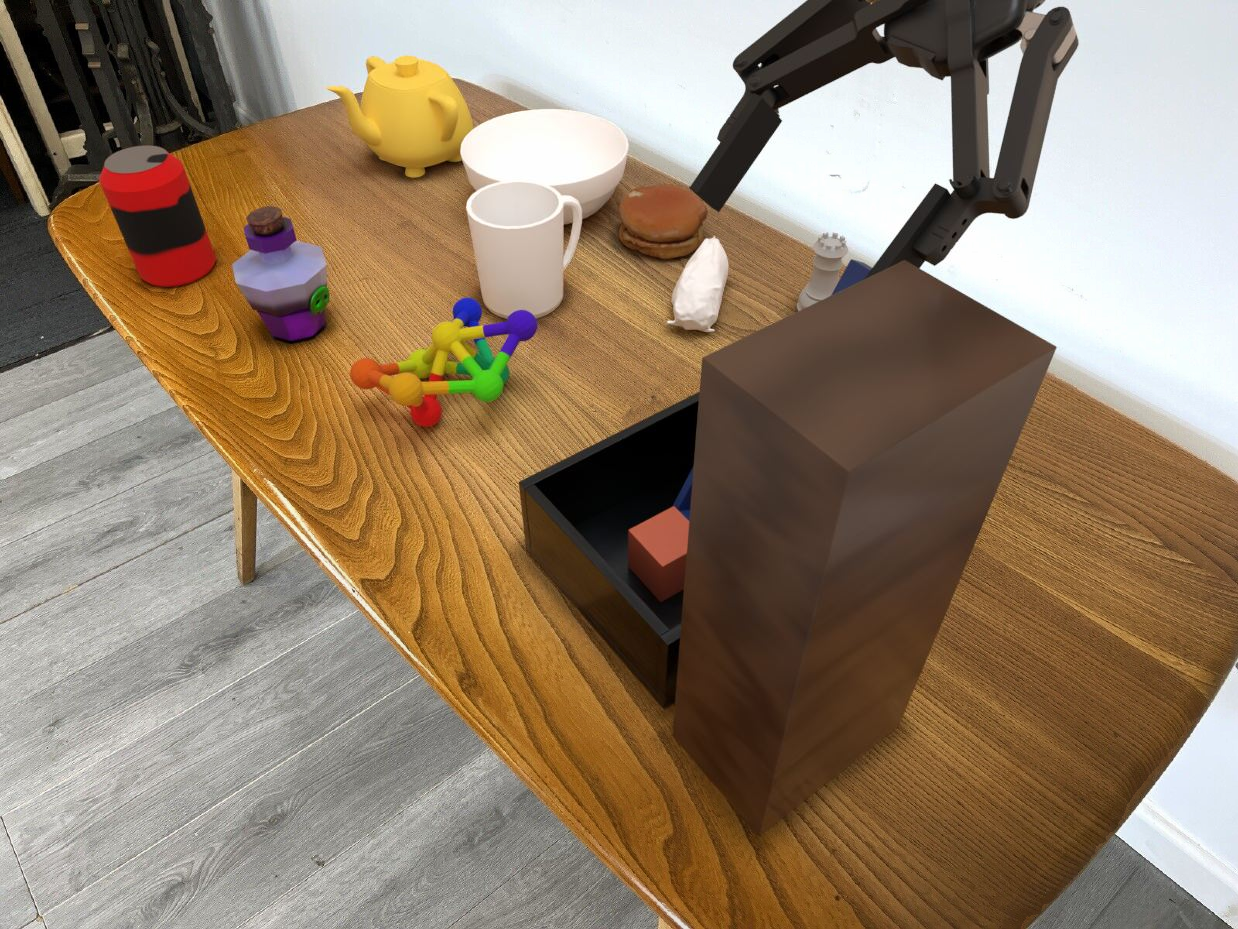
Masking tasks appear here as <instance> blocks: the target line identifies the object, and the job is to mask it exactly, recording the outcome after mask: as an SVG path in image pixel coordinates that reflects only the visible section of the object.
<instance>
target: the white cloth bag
mask: <svg viewBox="0 0 1238 929" xmlns="http://www.w3.org/2000/svg"><path fill="white" fill-rule="evenodd" d="M729 264H730V263H729V259H728V255H727V253H726V251H725V249H724V247H723V245H722V243H721V241H720V239H719V238H716V235H713V237H711V238H708V237H707V238H704V239H703V241H702V243H701V244H700V246H699V247H698V248H697V249H696V250H695V252H693V254H692V255H691V257H690V258H689V259H688V261H687V262H686V264H685V266H684V268H683V270H682V272H681V274H680V276H679V278H678V280H677V282H676V283H675V286H674V288H673V290H672V294H671V299H670V303H671V304H672V306H673V307H672V310H673V311H672V312H673V317H674V320H670V319H669V320H667V321H666V324H667V325H672V326H675V327H680V328H683V329H684V330H686V331H692V330H694V331H695V330H697V331H700V332H704V333H713V332H715V331H716V330H715V329H714V328H711V327H712V326H713V325H714V324H715V323H716V322H717V321H718V318H719V312H720V309H721V306H722V305H721V304H722V301H723V295H724V292H725V286H726V285H727V280H728V275H729V268H730V267H729Z"/></svg>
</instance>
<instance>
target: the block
mask: <svg viewBox="0 0 1238 929" xmlns="http://www.w3.org/2000/svg"><path fill="white" fill-rule="evenodd" d="M688 532H689V520H688V519H687V518H686V517H685V516H684V515H683V514H682V513H681V512H680V511H679V510H678V509H677V508H676V507H675V506H673V507H671V508H669V509H667V510H665V511H663V512H662V513H660V514H658V515H656V516H654V517H652V518H650V519H648V520H646V521H644V522H642V523H641V524H639V525H637V526H635V527H633V528H631V529H629V530H628V566H629V568H630V569H631V570H632V571H633V572H634V573H635V574H636V575H637V577H638V578H639V579H640V580H641V581H642V582H643V583H644V584H645V585H646V587H647V588H648V589H649V590H650V591H651V592H652V593H653V594H654V596H655V597H656V598H657V599H658V600H659V601H660V602H662V601H664V600H666V599H668V598H669V597H671V596H673V595H675V594H676V593H678V592H680V591H682V590H683V589H684V583H685V570H686V557H687V545H688Z"/></svg>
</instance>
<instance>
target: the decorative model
mask: <svg viewBox="0 0 1238 929" xmlns="http://www.w3.org/2000/svg"><path fill="white" fill-rule="evenodd" d="M482 316H483V310H482V306H481V305H480V303H479V301H477V300H476V299H474V298H472V297H462V298H461V299H458V300H457V301H456V302H455V303H454V305H453V306H452V317H453V319H452V320H451V321H450V320H449V321H448V320H446V321H442V322H440V323H438V324H437V325H436V326H435V327H434V328H433V329H432V331H431V341H432V342H431V344H430V346H428V348H427V349H425V348H420V349H416V350H413V351H412V352H411V353H410V354H409V356H408V358H407V360H402V361H395V362H389V363H384V364H379V362H377V361H376V360H375V359H373V358H371V357H363V358H359V359H358V360H356V361H355V362H354V363H353V364H352V365H351V367H350V371H349V377H350V380H351V381H352V383H353V384H354V386H356V387H357V388H359V389H361V390H371V389H374V388H377V389H379V390H380V391H381V392H383V393H385V394H387V395H388V396H390V398H391V399H392V401H393V402H394V403H396V404H398V405H400V406H404V407H407V408H409V409H410V417H411V419H412V421H413V422H414V424H416V425H418V426H419V427H424V428H429V427H433V426H435V425H436V424H438V422H439V421H440V420H441V417H442V416H443V415H442V414H443V409H442V408H443V407H442V405H441V403H440V402H439V400H438V399H437V398H438V395H451V394H453V395H454V394H473V396H474V397H475V398H476V399H477V400H479V401H481V402H483V403H484V402H485V403H489V402H494V401H495V400H497V399H499V398H500V396H501V395H502V393H503V390H504V385H505V384H506V383H507V382H508V381H509V378H510V369H509V368H510V367H509V366H508V363H509V362H510V360H511V358H512V357H513V354H514V352H515V350H516V349H517V347H518V346H519V343H520V342H527V341H529V340H531V339H532V338H533V337H534V336H535V334H536V333H537V330H538V321H537V319H536V318H535V317H534V315H533V314H532V313H530V312H528V311H526V310H518V311H515V312H513V313H511V314H510V315H509V317H508V318H507V319H506V321H502V322H495V323H489V324H482V325H480V324H479V322H480V321H481V319H482ZM503 335H508V336H507V338H506V339H505V341H504V342H503V344H502V346H501V348H500V350H499V352H498V353H497V355H496V356H495V357H494V355H493V354H494V353H492V350H491V348H490V346H489V344H488V341H487V339H486V338H490V337H498V336H503ZM471 340H473V342H474V344H475V346H476V349H477V350H475V349H474V348H473V347H472V346H470V345H469V344H467V343H466V342H464V341H471ZM450 353H452V354H453V355H454V357H455V358H456V359H457V361H450V360H448V359H449V356H450ZM445 373H446V374H456V375H463V376H470V377H471V378H472V379H468V380H467V379H465V380H443V378H444V374H445ZM421 379H428V381H422V380H421Z"/></svg>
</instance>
